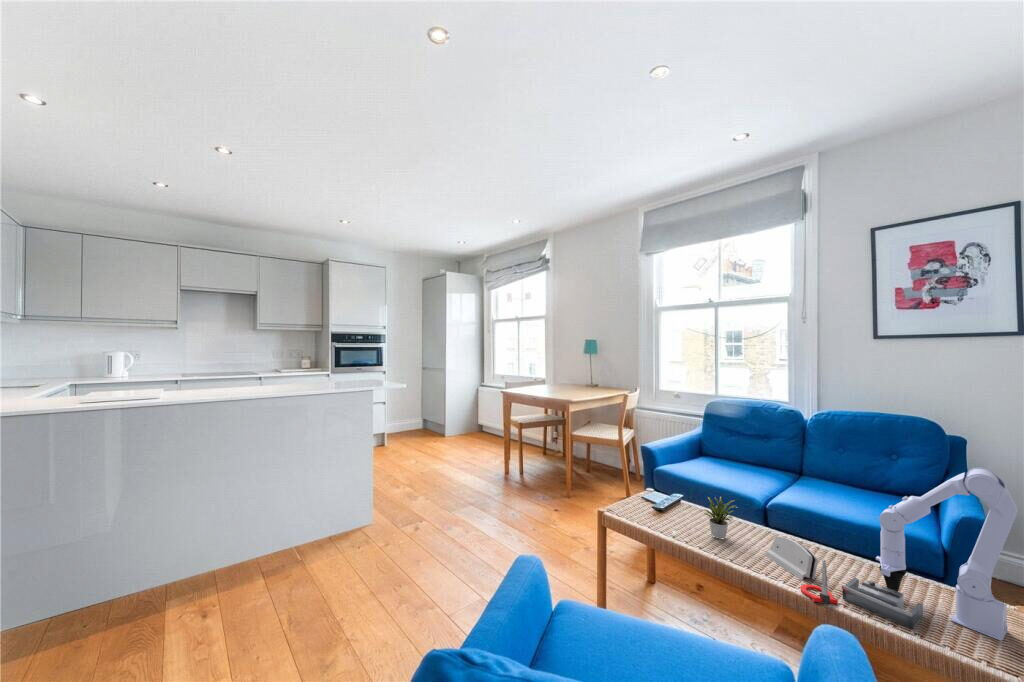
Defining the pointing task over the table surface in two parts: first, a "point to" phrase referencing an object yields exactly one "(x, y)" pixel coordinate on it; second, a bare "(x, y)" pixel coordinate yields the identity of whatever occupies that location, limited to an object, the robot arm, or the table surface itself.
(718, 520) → the house plant
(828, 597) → the red handled scissors
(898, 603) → the block
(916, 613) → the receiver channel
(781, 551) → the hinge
